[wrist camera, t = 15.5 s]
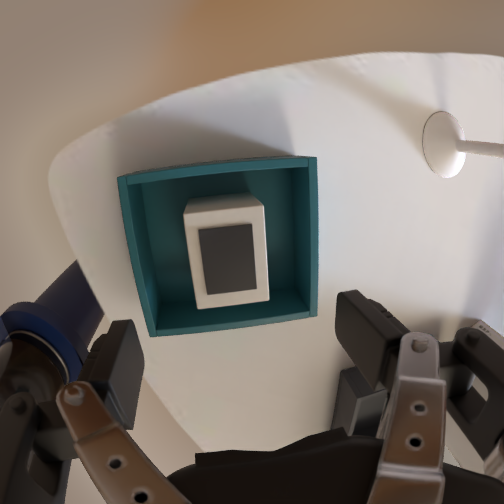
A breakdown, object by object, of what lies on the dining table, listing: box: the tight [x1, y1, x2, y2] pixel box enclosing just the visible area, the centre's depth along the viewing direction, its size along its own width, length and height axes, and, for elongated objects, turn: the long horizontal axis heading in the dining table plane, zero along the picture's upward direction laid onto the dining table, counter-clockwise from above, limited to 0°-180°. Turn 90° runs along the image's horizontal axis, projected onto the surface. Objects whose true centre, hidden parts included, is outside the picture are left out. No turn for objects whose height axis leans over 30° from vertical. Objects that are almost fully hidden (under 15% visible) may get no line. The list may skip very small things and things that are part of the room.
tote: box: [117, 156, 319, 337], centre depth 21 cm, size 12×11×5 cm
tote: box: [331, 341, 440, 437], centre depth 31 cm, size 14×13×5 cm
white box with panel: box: [183, 192, 269, 309], centre depth 20 cm, size 4×6×6 cm
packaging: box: [445, 320, 504, 474], centre depth 28 cm, size 30×6×20 cm, turn 22°
